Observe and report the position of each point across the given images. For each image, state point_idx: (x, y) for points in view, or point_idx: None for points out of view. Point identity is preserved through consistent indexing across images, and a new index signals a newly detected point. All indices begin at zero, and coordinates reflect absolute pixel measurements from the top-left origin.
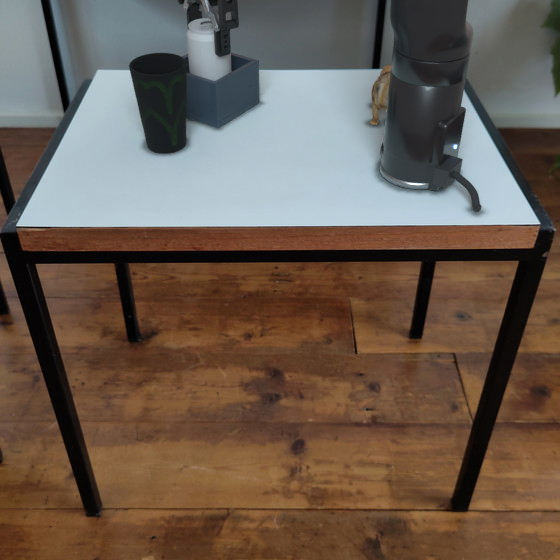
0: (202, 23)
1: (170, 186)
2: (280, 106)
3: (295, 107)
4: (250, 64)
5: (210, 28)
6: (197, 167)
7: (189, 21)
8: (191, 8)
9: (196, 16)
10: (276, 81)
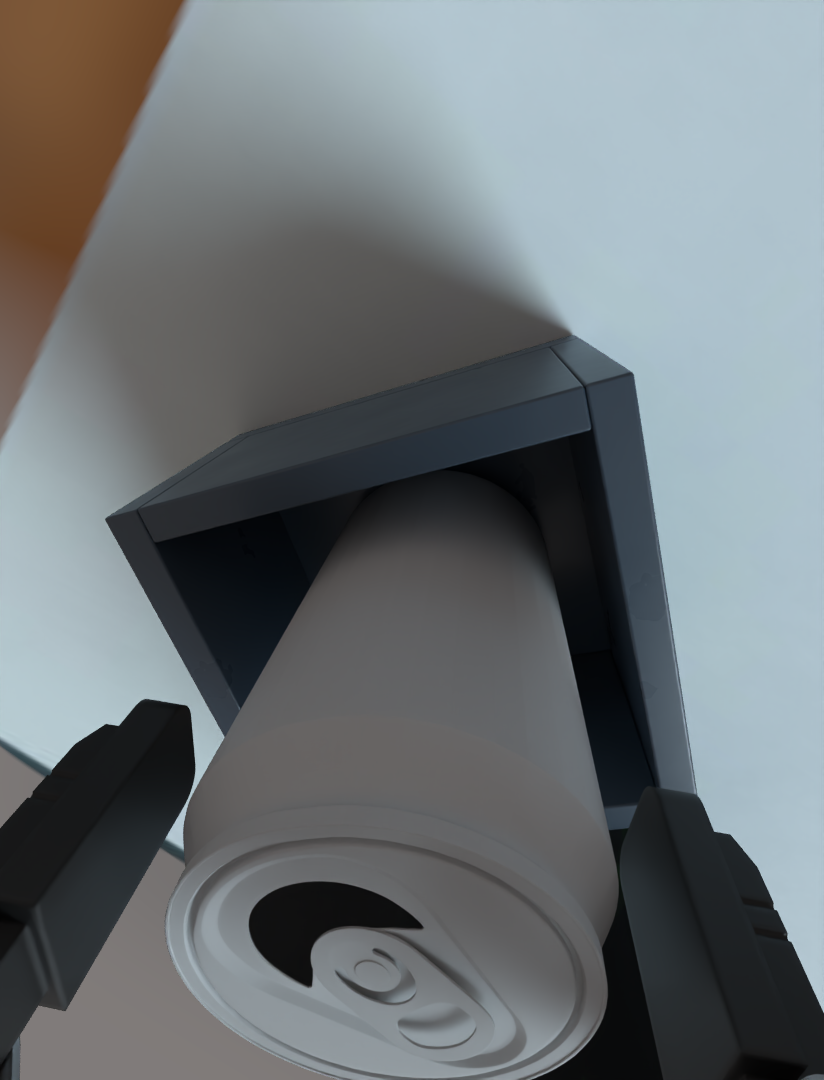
0: (190, 856)
1: (808, 932)
2: (699, 256)
3: (788, 180)
4: (647, 489)
5: (468, 993)
6: (796, 839)
7: (112, 924)
8: (2, 1051)
9: (75, 907)
10: (396, 4)
